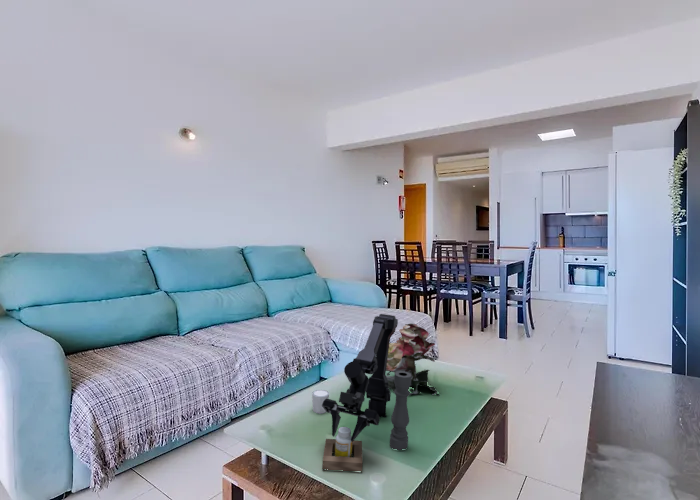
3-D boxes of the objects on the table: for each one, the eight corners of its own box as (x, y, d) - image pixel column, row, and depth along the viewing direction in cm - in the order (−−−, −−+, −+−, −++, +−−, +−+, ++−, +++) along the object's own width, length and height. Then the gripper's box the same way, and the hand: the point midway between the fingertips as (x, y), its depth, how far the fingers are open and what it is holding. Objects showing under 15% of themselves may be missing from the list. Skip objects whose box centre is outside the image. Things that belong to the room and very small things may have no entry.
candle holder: (387, 440, 134) (392, 370, 132) (405, 440, 134) (409, 370, 133) (391, 451, 127) (395, 377, 126) (409, 451, 128) (414, 378, 126)
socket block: (361, 449, 127) (361, 440, 127) (361, 472, 115) (362, 463, 115) (325, 447, 128) (325, 438, 127) (322, 470, 116) (322, 460, 115)
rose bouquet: (413, 371, 200) (417, 314, 198) (446, 395, 173) (451, 330, 171) (368, 376, 191) (372, 316, 189) (395, 402, 164) (399, 333, 162)
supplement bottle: (341, 466, 118) (343, 436, 117) (331, 458, 122) (332, 428, 121) (354, 460, 121) (356, 430, 121) (344, 452, 125) (345, 423, 125)
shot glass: (326, 415, 149) (326, 397, 149) (309, 412, 150) (309, 395, 150) (330, 407, 156) (331, 390, 155) (314, 405, 157) (314, 388, 157)
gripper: (325, 374, 127) (307, 422, 118) (378, 386, 120) (364, 437, 111) (334, 388, 135) (318, 434, 126) (385, 400, 128) (372, 449, 118)
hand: (342, 438), depth 120 cm, fingers open, 6 cm apart
